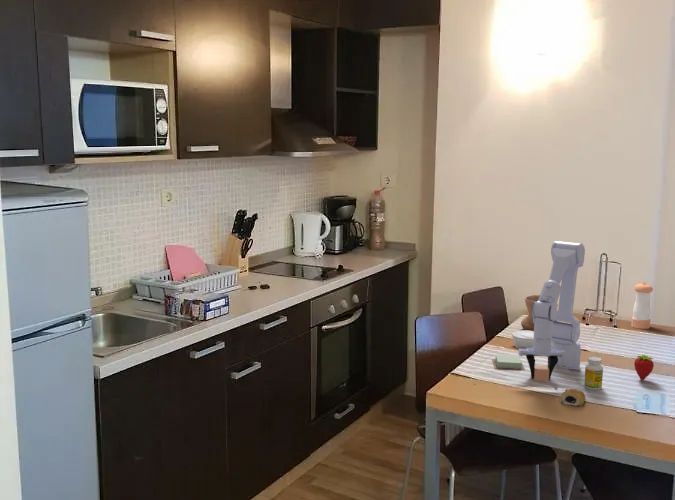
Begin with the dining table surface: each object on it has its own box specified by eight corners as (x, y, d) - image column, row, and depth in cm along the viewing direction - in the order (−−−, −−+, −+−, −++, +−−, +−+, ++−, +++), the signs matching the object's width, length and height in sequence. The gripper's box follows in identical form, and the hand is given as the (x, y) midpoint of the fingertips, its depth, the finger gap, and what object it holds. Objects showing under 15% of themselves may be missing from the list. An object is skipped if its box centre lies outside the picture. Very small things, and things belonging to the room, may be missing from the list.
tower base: (520, 365, 246) (520, 360, 245) (524, 375, 236) (524, 369, 235) (491, 364, 247) (491, 359, 246) (494, 374, 237) (494, 368, 237)
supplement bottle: (591, 383, 227) (593, 355, 226) (605, 388, 223) (607, 359, 221) (580, 386, 224) (582, 357, 223) (594, 391, 220) (596, 362, 218)
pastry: (567, 394, 218) (567, 382, 217) (589, 398, 215) (590, 387, 214) (558, 403, 210) (559, 391, 210) (581, 408, 207) (582, 396, 206)
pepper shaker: (629, 323, 298) (632, 280, 294) (646, 324, 297) (650, 280, 293) (633, 328, 290) (637, 283, 287) (652, 329, 290) (655, 284, 286)
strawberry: (651, 377, 233) (653, 348, 231) (653, 385, 226) (656, 355, 224) (632, 375, 235) (634, 346, 233) (633, 382, 228) (636, 353, 226)
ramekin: (509, 350, 261) (510, 336, 260) (513, 341, 272) (514, 328, 271) (540, 353, 257) (541, 340, 256) (543, 345, 267) (544, 332, 267)
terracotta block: (546, 379, 230) (546, 365, 229) (548, 384, 226) (549, 369, 225) (532, 378, 231) (532, 364, 230) (534, 383, 226) (535, 369, 226)
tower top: (518, 361, 244) (518, 355, 244) (521, 368, 237) (521, 363, 236) (495, 359, 245) (495, 354, 245) (497, 367, 238) (497, 361, 237)
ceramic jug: (526, 323, 297) (528, 291, 294) (561, 328, 289) (563, 295, 287) (515, 335, 281) (516, 301, 279) (551, 340, 274) (553, 305, 271)
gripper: (521, 340, 223) (519, 380, 225) (568, 342, 221) (565, 382, 223) (518, 333, 230) (516, 373, 232) (563, 335, 228) (561, 375, 230)
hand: (540, 377), depth 228 cm, fingers closed on terracotta block, 4 cm apart
